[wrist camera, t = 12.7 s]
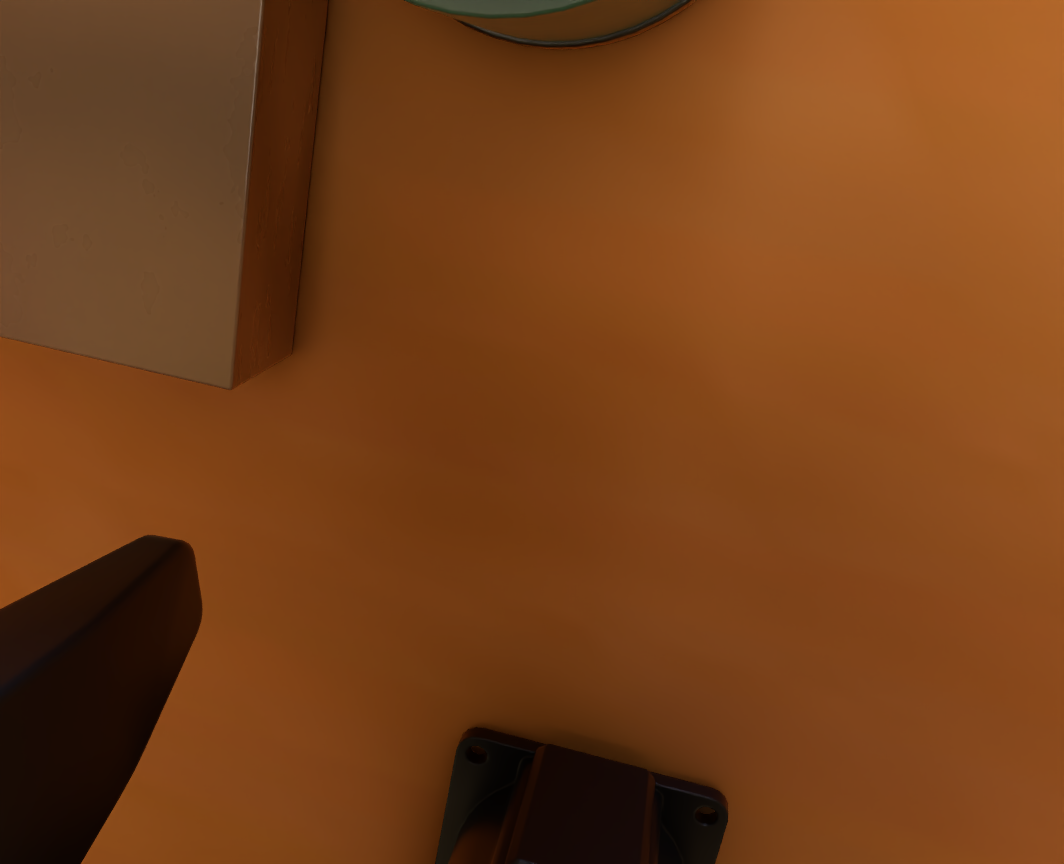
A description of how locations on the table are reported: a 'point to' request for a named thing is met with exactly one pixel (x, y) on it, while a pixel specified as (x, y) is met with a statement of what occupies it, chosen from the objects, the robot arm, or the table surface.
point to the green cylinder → (558, 19)
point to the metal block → (157, 179)
